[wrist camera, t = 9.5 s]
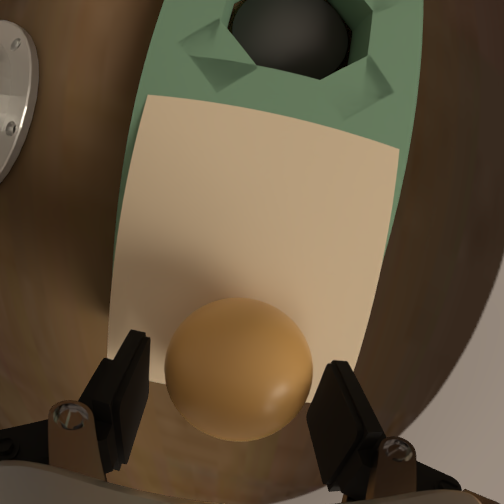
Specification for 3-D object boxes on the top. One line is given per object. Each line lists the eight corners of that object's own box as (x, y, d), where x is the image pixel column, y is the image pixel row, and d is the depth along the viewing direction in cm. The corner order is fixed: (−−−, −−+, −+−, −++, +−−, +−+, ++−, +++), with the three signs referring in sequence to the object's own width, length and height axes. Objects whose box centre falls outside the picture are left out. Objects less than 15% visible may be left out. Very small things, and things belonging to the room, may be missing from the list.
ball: (314, 363, 13) (365, 401, 8) (221, 428, 12) (227, 493, 7) (248, 270, 13) (268, 262, 8) (150, 339, 12) (115, 370, 7)
